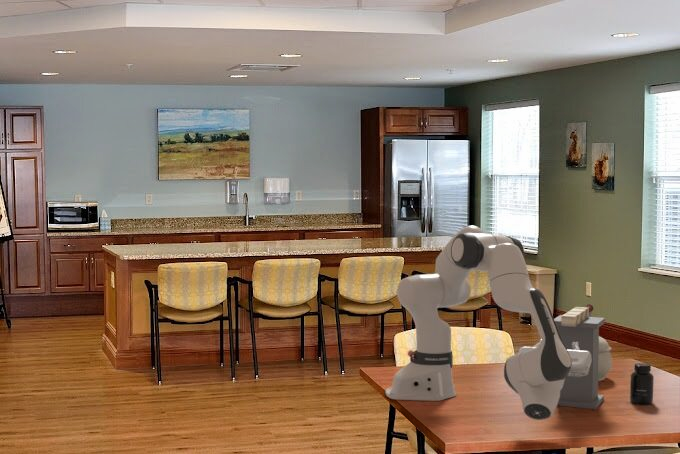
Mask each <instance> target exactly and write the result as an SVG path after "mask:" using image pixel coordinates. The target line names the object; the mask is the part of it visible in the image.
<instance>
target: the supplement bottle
mask: <svg viewBox="0 0 680 454" xmlns="http://www.w3.org/2000/svg"><path fill="white" fill-rule="evenodd" d="M651 366H652V365H651V364H649V363H645V362H644V363H643V362H637V363H636V362H635V363H634V371H633V372H632V373H631V374H630V388H629V389H630V390H629V391H630V392H629V401H630V402H631V403H632V404H634V405H643V406H648V405H651V404H653V402H654V400H653V399H654V383H655V382H654V381H655V379H654V375H653V373H651Z"/></svg>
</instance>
